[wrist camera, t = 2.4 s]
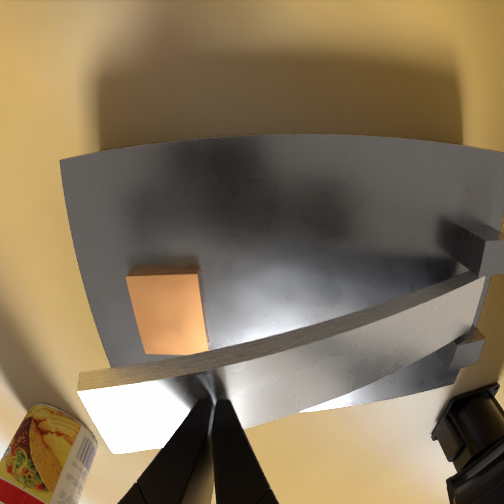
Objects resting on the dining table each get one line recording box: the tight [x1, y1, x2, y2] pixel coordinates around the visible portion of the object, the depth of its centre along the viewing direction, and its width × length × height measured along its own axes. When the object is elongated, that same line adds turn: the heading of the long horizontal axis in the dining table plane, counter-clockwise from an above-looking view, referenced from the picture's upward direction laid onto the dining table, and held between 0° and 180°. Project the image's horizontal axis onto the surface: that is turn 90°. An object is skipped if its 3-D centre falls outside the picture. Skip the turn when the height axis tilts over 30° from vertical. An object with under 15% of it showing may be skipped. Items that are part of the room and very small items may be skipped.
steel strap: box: [77, 270, 486, 453], centre depth 10 cm, size 16×3×1 cm, turn 90°
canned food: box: [0, 403, 98, 504], centre depth 18 cm, size 8×8×12 cm
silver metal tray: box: [60, 133, 504, 412], centre depth 14 cm, size 20×14×6 cm
